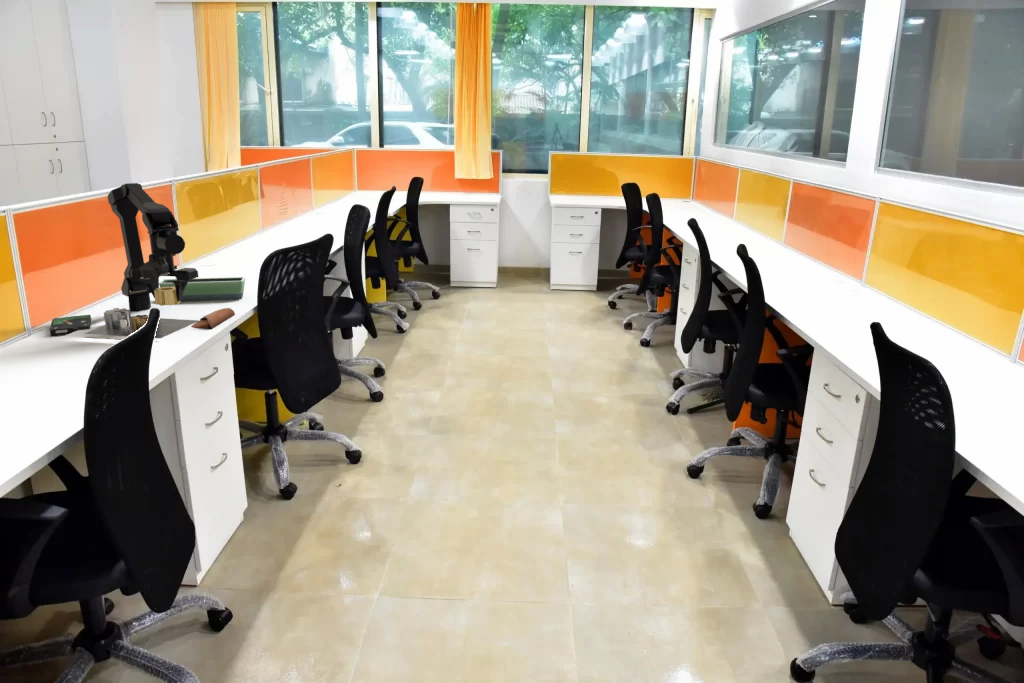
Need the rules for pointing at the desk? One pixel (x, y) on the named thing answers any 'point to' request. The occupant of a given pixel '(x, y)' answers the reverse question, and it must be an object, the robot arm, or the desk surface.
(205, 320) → the sunglasses case
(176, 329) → the carrier
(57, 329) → the disk drive
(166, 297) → the brass gear
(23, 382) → the desk surface
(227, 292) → the planter
